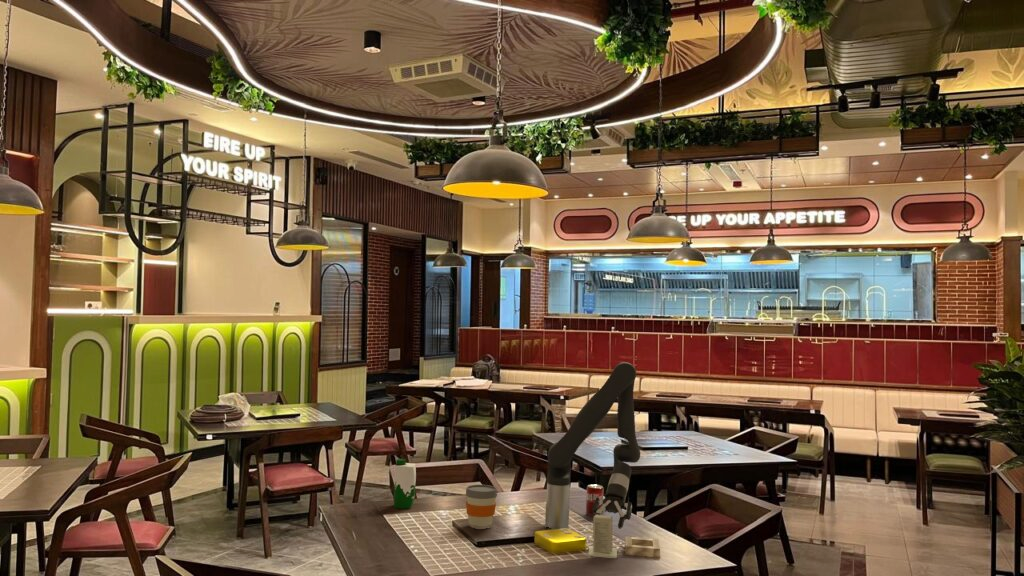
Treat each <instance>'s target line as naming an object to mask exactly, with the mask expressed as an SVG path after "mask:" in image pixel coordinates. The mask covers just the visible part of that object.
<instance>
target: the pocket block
mask: <svg viewBox="0 0 1024 576" xmlns="http://www.w3.org/2000/svg"><path fill="white" fill-rule="evenodd" d="M624 550H625V556H634V555H637V556H636V557H646V556H647V557H648V558H658V557H659V559H660V558H661V547H660V540H659V539H658V538H646V537H636V536H635V537H634V536H625V549H624Z"/></svg>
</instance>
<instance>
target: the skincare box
mask: <svg viewBox="0 0 1024 576" xmlns="http://www.w3.org/2000/svg"><path fill="white" fill-rule="evenodd" d="M592 517H593V518H592V519H593V521H592V522H593V528H592V529H593V533H592V535H593V536H592V537H593V538H592V539H593V540H592V543H593V544H592V546H593V551H595V552H603V553H610V552H611V551H612V548H613V516H612V515H605V514H603V515H595V516H592Z"/></svg>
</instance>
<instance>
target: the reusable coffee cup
mask: <svg viewBox="0 0 1024 576" xmlns="http://www.w3.org/2000/svg"><path fill="white" fill-rule="evenodd" d="M465 496H466V501H465V506H466V507H465V509H466V514H467V519H468V520H467V521H468V525H469V524H471V525H477V526H487V525H491V524H493V519H494V518H493V517H494V516H495V512H496V505H497V501H496V500H497V497H498V490H497V487H496V486H493V485H488V484H471V485H468V486H466V489H465Z"/></svg>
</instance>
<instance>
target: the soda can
mask: <svg viewBox="0 0 1024 576" xmlns="http://www.w3.org/2000/svg"><path fill="white" fill-rule="evenodd" d="M604 489H605V488H604V487H603V485H601V484H588V485H587V486H586V498H585V499H586V503H585V506H586V508H585V513H586V514H588V515H587V516H590V515H591V517H594V516H595V515H594V514H593V511H592V508H593V506H594V503H595V500H596V498H597V497H598V498H599V499H601V500H603V499H604ZM602 505H603V503H602V504H601V505H599V508H598V509H600V507H601V506H602Z"/></svg>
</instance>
